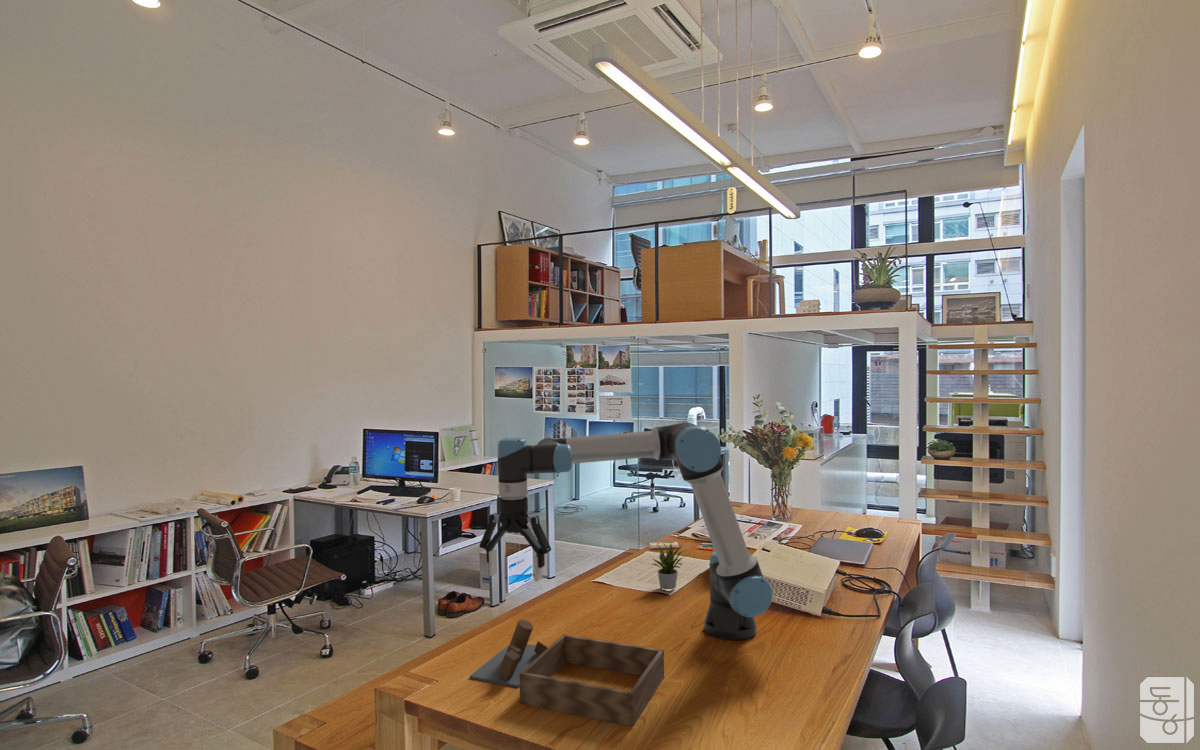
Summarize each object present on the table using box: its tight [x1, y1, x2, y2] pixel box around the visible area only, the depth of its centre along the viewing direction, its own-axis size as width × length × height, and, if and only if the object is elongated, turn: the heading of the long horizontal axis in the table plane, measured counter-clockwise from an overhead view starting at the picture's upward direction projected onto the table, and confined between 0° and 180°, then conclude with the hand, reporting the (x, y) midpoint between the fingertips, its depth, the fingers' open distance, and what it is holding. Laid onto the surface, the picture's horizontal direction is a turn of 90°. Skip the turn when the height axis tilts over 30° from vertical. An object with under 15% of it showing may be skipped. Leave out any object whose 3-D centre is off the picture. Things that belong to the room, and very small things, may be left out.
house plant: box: [648, 542, 687, 589], centre depth 230 cm, size 14×14×16 cm
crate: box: [519, 633, 665, 727], centre depth 158 cm, size 28×24×7 cm
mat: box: [469, 643, 549, 689], centre depth 173 cm, size 14×22×1 cm, turn 158°
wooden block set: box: [498, 619, 548, 680], centre depth 170 cm, size 18×9×10 cm, turn 155°
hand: (515, 577), depth 172 cm, fingers open, 13 cm apart
